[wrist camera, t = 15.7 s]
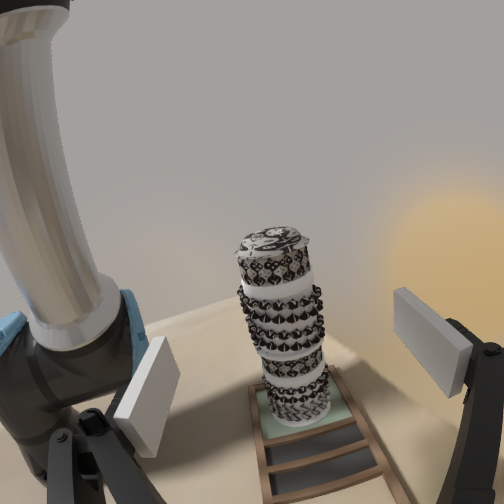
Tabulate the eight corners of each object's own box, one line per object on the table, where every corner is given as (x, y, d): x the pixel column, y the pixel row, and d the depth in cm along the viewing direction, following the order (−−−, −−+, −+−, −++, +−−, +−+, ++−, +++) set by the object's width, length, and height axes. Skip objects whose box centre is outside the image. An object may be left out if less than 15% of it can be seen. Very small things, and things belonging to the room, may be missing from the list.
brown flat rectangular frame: (430, 547, 11) (433, 545, 10) (279, 596, 10) (278, 595, 10) (334, 369, 44) (333, 364, 43) (249, 390, 43) (248, 386, 43)
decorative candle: (258, 402, 40) (215, 239, 34) (311, 377, 43) (285, 219, 37) (286, 440, 31) (242, 251, 25) (346, 407, 34) (329, 224, 28)
